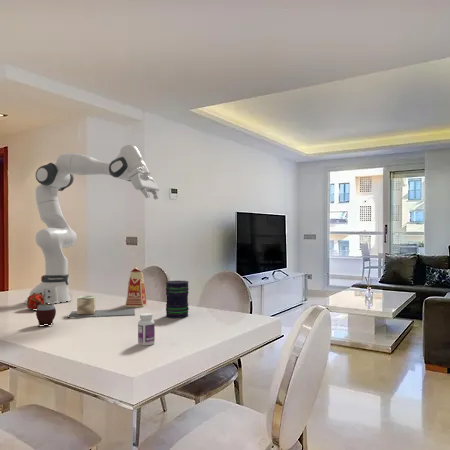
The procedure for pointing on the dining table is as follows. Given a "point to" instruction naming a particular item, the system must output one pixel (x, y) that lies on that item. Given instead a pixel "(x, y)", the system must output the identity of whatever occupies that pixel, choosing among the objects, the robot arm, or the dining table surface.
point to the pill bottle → (146, 330)
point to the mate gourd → (45, 312)
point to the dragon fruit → (35, 301)
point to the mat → (106, 313)
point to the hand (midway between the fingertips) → (152, 198)
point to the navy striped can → (177, 299)
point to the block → (85, 305)
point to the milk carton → (136, 290)
